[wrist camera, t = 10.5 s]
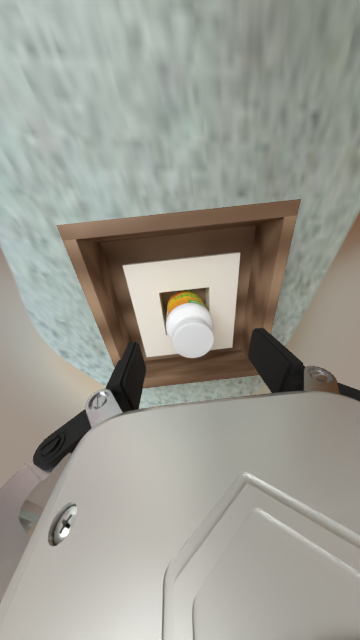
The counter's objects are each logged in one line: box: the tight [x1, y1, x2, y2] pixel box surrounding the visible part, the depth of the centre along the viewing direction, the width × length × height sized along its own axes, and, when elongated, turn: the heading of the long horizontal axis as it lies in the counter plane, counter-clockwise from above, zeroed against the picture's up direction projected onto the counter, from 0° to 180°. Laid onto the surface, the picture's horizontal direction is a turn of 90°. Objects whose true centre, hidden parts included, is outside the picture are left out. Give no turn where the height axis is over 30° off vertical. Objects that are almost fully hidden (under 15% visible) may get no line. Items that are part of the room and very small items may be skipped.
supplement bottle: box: [166, 290, 214, 358], centre depth 18 cm, size 5×5×10 cm
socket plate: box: [123, 252, 240, 357], centre depth 21 cm, size 14×14×2 cm
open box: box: [56, 199, 301, 388], centre depth 20 cm, size 22×22×6 cm
